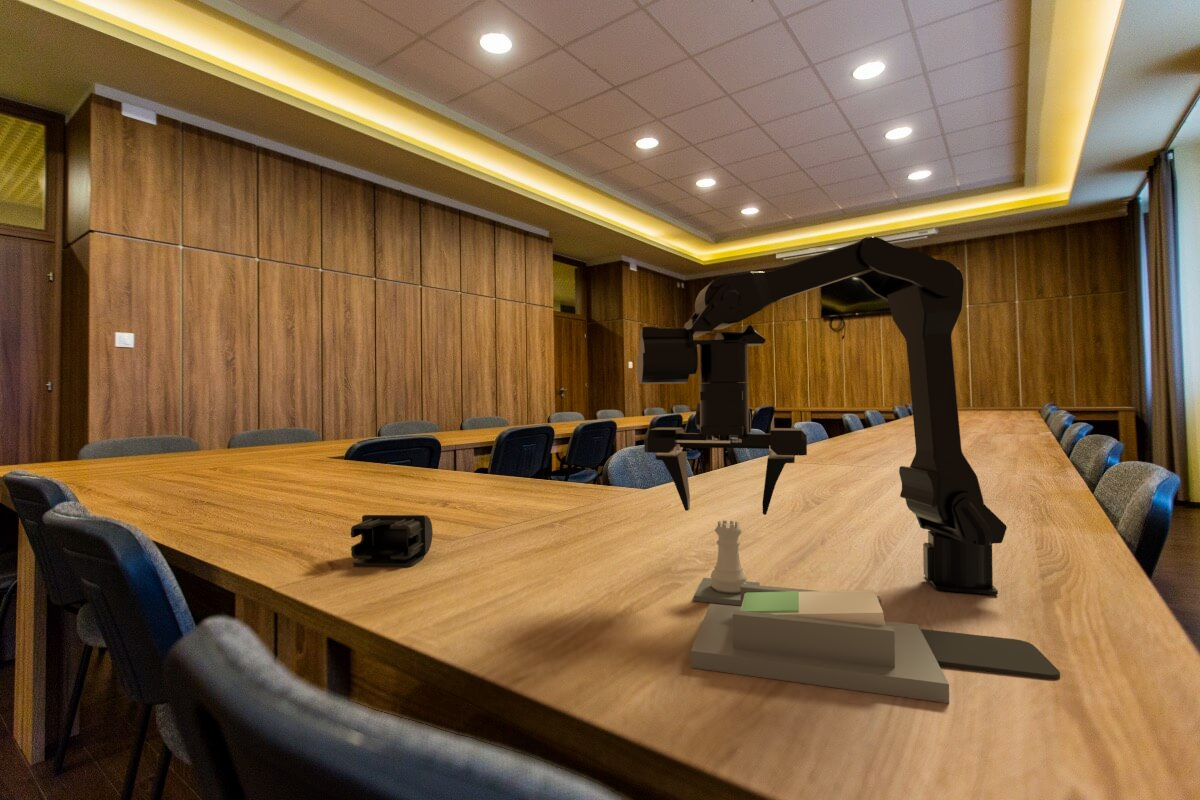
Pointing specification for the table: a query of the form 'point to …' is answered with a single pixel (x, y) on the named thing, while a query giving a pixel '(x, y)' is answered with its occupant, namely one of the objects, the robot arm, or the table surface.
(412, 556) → the end cap
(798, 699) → the table surface
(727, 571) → the rook chess piece
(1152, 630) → the table surface
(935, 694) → the grey stand
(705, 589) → the rubber pad
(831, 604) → the rocker
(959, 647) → the phone
